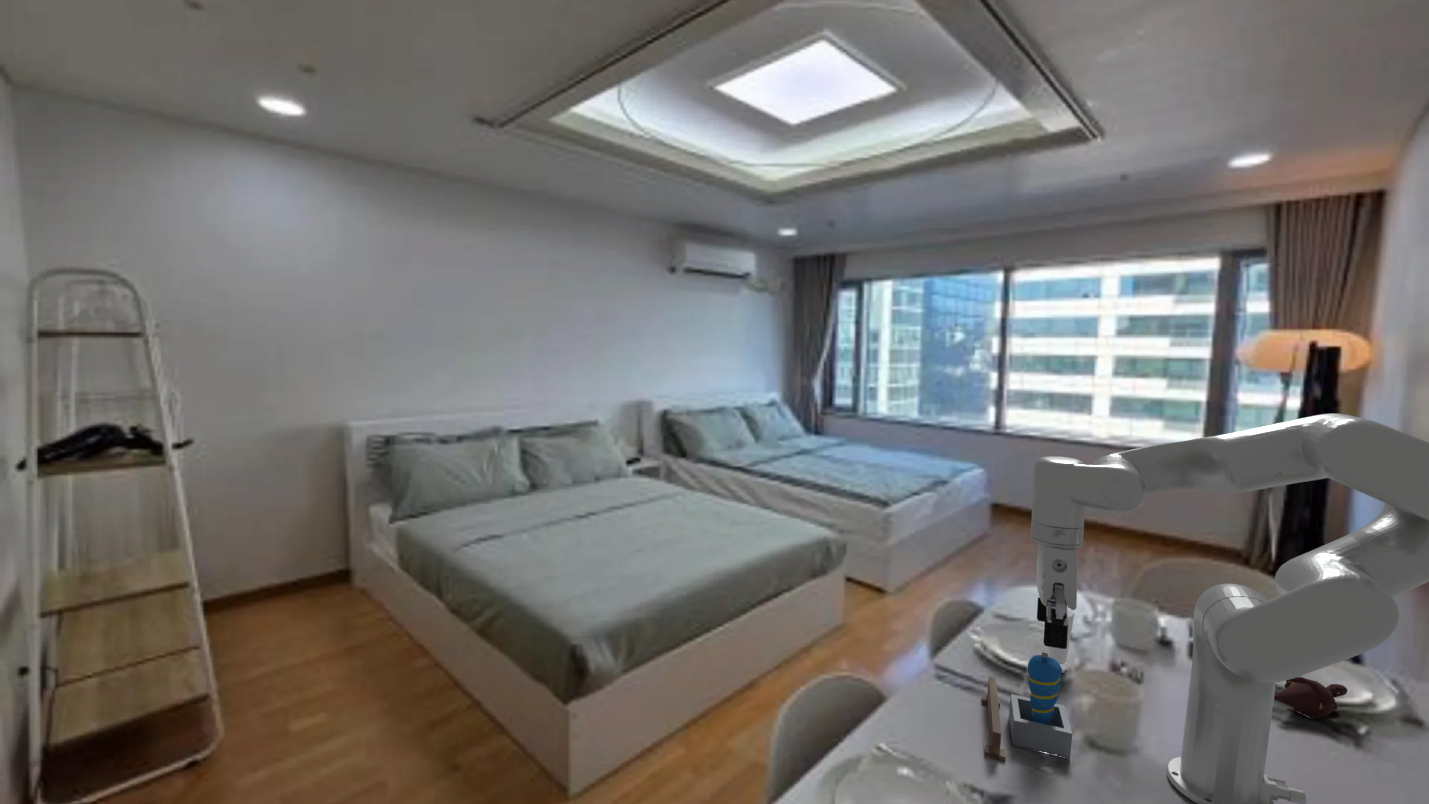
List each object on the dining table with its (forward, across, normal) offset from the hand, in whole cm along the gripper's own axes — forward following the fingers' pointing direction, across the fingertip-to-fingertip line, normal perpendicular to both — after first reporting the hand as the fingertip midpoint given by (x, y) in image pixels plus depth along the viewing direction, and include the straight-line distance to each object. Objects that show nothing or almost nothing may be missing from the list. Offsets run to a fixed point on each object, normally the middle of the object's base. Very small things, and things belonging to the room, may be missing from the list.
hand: (1050, 633), depth 103 cm
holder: (+19, 0, +1) cm, 19 cm away
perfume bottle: (+19, +27, -5) cm, 33 cm away
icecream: (+20, +29, -46) cm, 58 cm away
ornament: (+18, 0, +1) cm, 18 cm away
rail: (+18, 0, +8) cm, 20 cm away
